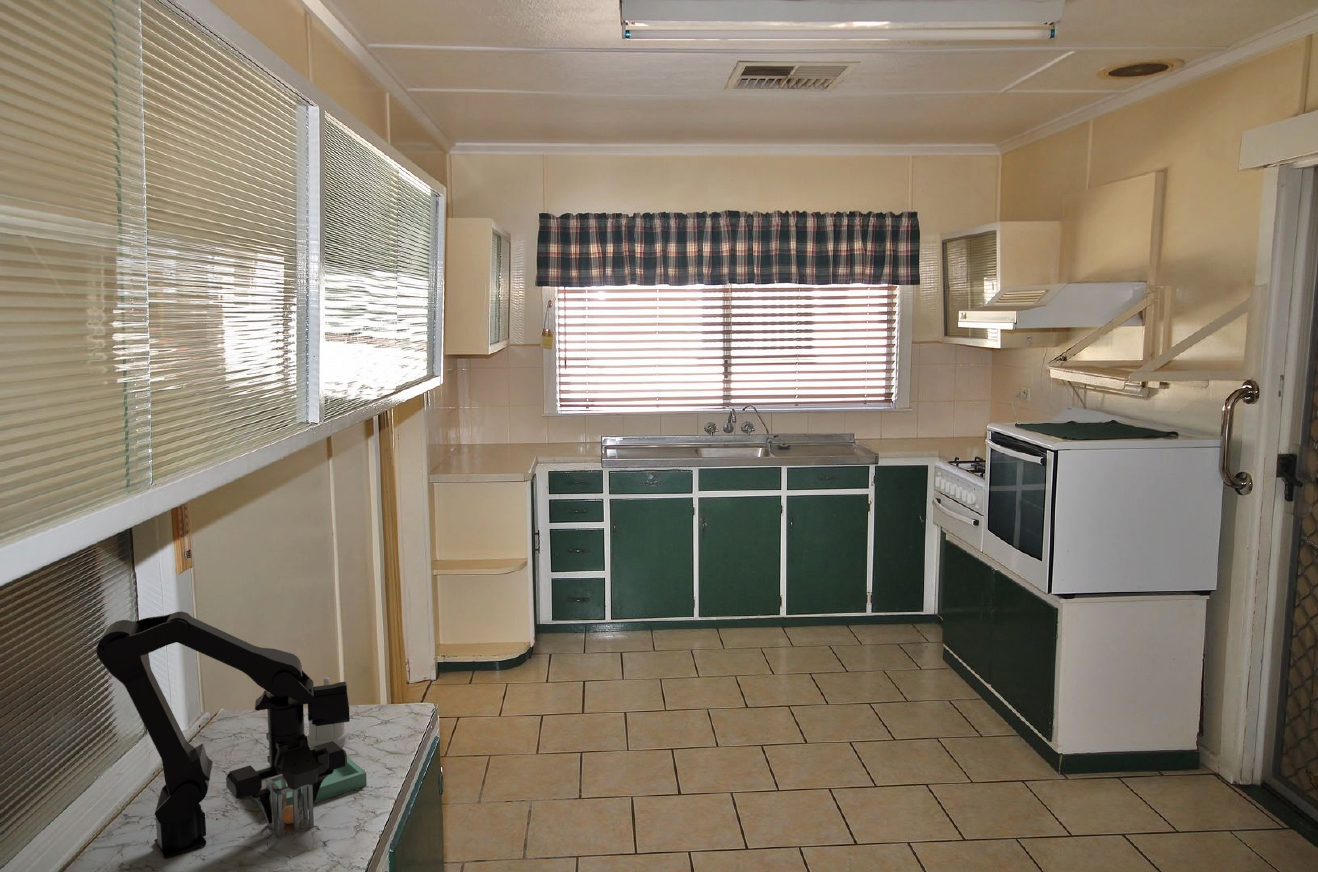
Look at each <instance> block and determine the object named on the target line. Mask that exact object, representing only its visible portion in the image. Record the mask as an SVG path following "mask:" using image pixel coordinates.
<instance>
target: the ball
mask: <svg viewBox="0 0 1318 872" xmlns="http://www.w3.org/2000/svg"><path fill="white" fill-rule="evenodd" d="M282 816H283V822H284V823H287V824H291V823H294V820H293V805H289V806H286V807H285V808H284V809H283V810H282ZM298 818H299V809H298Z"/></svg>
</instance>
